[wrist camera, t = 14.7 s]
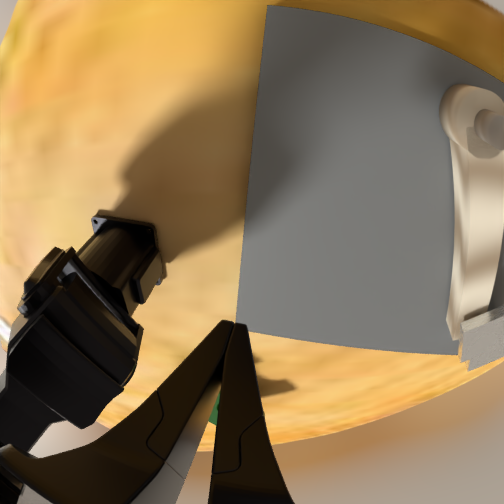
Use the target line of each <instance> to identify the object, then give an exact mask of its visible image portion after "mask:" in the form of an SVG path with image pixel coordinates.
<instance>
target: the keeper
mask: <svg viewBox="0 0 504 504" xmlns="http://www.w3.org/2000/svg"><path fill="white" fill-rule="evenodd" d="M458 340H459V350H458V356H459V359H460V363H462V362H464V361H465V363H466V367H467V371H470V370H473V369H476V368H478V367H481V366H483V365H485V364H488V363H490V362H492V361H495V360H497V359H499V358H501V357H504V305H502V306H500V307H498V308H495V309H493V310H491V311H488V312H486V313H484V314H481V315H479V316H476V317H474V318H471V319H469V320H466V321H464V322H461V323H460V337H459V339H458Z"/></svg>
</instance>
